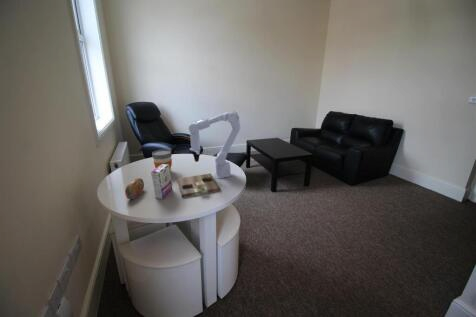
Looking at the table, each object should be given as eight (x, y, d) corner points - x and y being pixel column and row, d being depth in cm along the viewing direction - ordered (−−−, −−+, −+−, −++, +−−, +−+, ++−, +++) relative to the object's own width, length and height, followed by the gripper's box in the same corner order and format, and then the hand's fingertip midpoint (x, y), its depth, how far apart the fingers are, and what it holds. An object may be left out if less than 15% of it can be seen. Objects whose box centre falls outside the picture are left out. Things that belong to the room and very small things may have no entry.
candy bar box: (165, 189, 130) (161, 163, 125) (172, 189, 129) (169, 164, 124) (154, 198, 120) (150, 171, 114) (163, 199, 119) (159, 172, 113)
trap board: (210, 176, 147) (210, 173, 147) (219, 190, 128) (219, 187, 127) (177, 181, 140) (177, 178, 139) (181, 197, 121) (181, 194, 120)
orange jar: (176, 169, 158) (174, 150, 153) (168, 176, 147) (165, 155, 141) (160, 168, 160) (157, 149, 155) (151, 175, 149) (148, 154, 144)
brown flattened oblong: (131, 202, 117) (128, 188, 114) (125, 201, 117) (123, 187, 114) (145, 188, 131) (143, 176, 128) (140, 188, 131) (138, 175, 128)
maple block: (203, 187, 128) (202, 181, 127) (204, 190, 124) (204, 184, 123) (196, 188, 127) (195, 182, 125) (197, 191, 123) (197, 185, 122)
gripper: (187, 139, 145) (188, 158, 150) (190, 145, 132) (192, 166, 137) (197, 138, 147) (199, 157, 152) (202, 144, 135) (203, 164, 139)
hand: (196, 161), depth 145 cm, fingers closed
